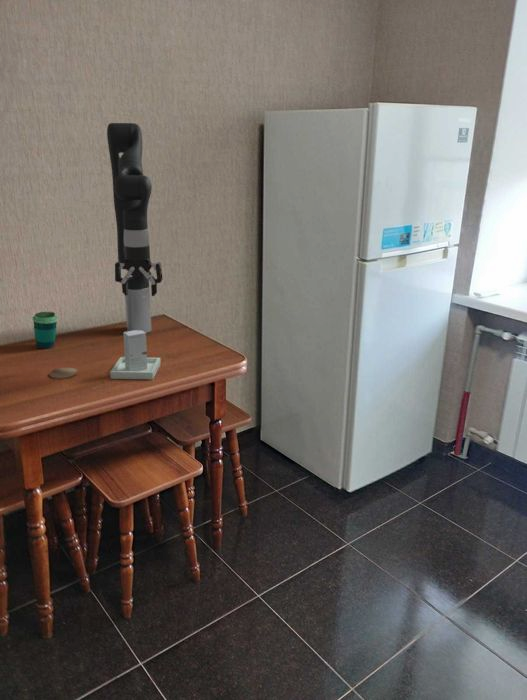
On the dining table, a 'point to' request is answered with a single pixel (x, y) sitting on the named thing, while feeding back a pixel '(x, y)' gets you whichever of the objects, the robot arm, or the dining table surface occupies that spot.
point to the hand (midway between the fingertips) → (139, 295)
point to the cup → (45, 329)
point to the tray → (123, 373)
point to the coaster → (63, 373)
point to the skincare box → (135, 350)
